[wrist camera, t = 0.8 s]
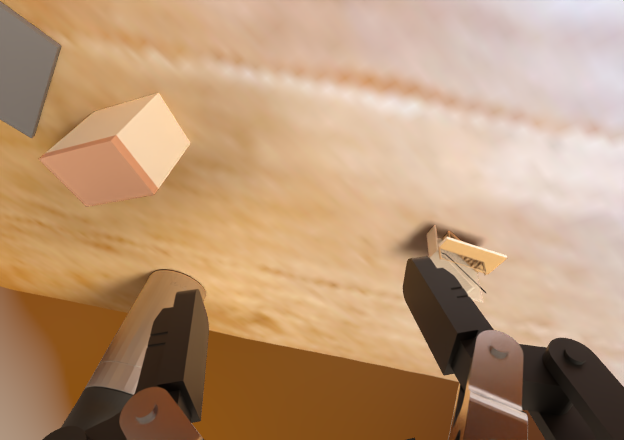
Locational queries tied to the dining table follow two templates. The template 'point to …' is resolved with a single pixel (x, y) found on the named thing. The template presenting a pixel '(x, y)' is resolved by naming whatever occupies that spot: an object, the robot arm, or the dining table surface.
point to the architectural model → (462, 260)
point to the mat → (24, 70)
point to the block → (119, 152)
